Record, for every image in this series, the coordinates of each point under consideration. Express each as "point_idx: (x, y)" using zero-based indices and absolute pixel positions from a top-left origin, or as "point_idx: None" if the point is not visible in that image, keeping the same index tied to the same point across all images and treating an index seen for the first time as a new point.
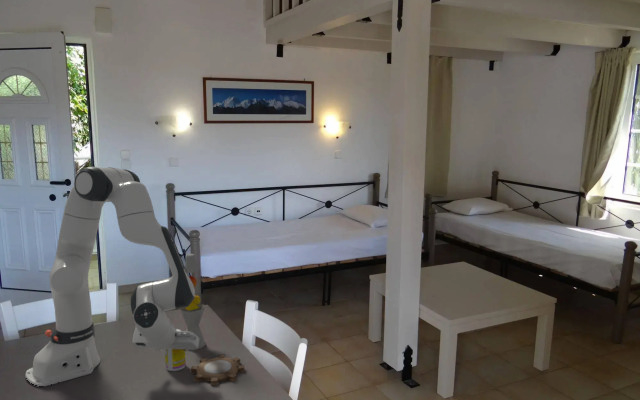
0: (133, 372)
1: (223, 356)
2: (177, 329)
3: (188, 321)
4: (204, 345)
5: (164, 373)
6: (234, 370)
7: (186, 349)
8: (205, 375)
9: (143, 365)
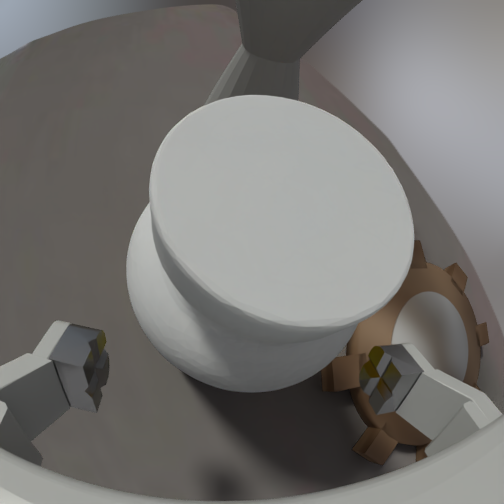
0: (12, 357)
1: (423, 254)
2: (318, 115)
3: (274, 26)
4: None
5: (170, 395)
6: (476, 364)
7: (414, 420)
8: (408, 433)
9: (41, 287)
